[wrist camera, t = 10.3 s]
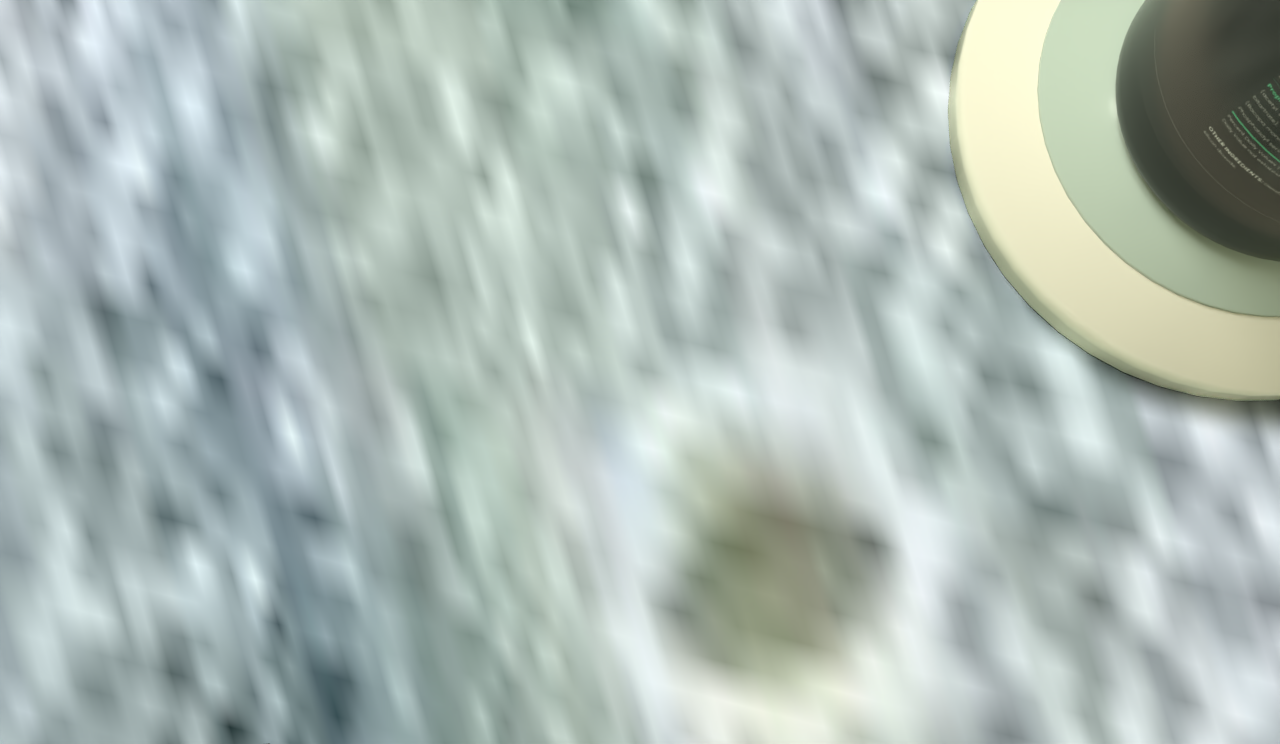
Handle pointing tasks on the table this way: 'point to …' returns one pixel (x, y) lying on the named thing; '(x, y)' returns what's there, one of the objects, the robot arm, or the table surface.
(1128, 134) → the supplement bottle
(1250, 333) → the dish
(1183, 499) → the table surface
